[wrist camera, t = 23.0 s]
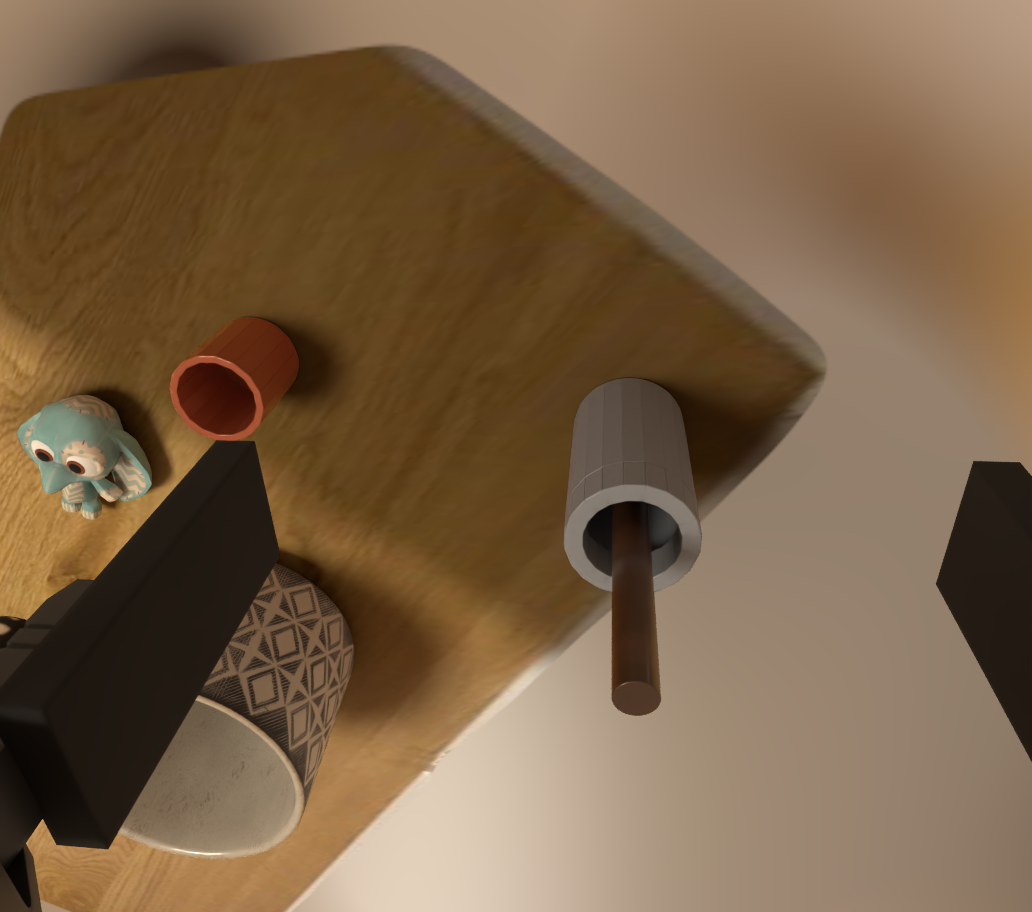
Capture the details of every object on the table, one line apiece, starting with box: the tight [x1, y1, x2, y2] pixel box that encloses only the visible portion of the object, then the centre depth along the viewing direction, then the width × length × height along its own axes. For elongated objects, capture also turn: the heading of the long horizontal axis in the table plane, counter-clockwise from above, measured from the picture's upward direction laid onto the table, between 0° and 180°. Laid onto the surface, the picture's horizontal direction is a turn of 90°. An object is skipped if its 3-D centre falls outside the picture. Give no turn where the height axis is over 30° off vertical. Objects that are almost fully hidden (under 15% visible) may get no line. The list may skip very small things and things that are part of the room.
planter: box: [118, 563, 354, 859], centre depth 65 cm, size 19×19×16 cm
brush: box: [612, 501, 661, 716], centre depth 46 cm, size 4×4×25 cm
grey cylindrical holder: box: [564, 378, 702, 592], centre depth 52 cm, size 8×8×14 cm
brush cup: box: [170, 317, 299, 441], centre depth 55 cm, size 6×6×7 cm
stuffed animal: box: [17, 395, 152, 519], centre depth 61 cm, size 11×7×12 cm
